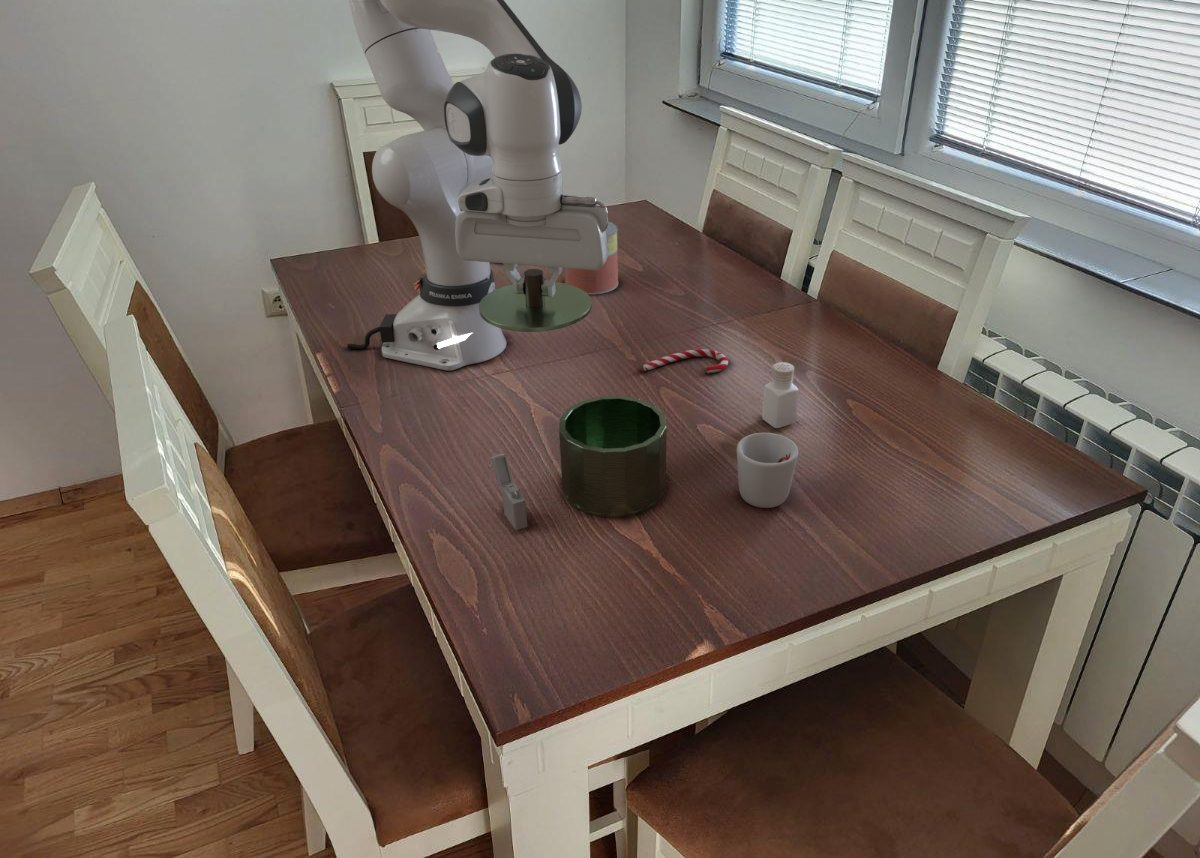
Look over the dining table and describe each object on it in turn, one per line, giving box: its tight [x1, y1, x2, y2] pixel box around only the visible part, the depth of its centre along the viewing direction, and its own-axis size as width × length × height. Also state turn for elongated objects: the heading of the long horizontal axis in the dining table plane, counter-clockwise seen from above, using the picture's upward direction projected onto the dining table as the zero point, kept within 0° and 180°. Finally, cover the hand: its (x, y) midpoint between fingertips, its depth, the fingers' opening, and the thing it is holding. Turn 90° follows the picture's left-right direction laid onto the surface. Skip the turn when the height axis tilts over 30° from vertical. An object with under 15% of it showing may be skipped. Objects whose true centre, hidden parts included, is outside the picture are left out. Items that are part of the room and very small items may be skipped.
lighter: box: [490, 453, 529, 531], centre depth 117 cm, size 7×2×8 cm, turn 27°
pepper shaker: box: [761, 361, 800, 429], centre depth 135 cm, size 4×4×10 cm
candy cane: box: [641, 348, 729, 374], centre depth 153 cm, size 8×1×15 cm
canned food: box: [563, 221, 619, 296], centre depth 182 cm, size 11×11×12 cm
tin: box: [558, 395, 668, 518], centre depth 121 cm, size 14×14×10 cm
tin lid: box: [479, 268, 593, 333], centre depth 120 cm, size 15×15×6 cm
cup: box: [736, 432, 799, 509], centre depth 120 cm, size 11×8×8 cm
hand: (534, 293), depth 121 cm, fingers closed on tin lid, 2 cm apart
